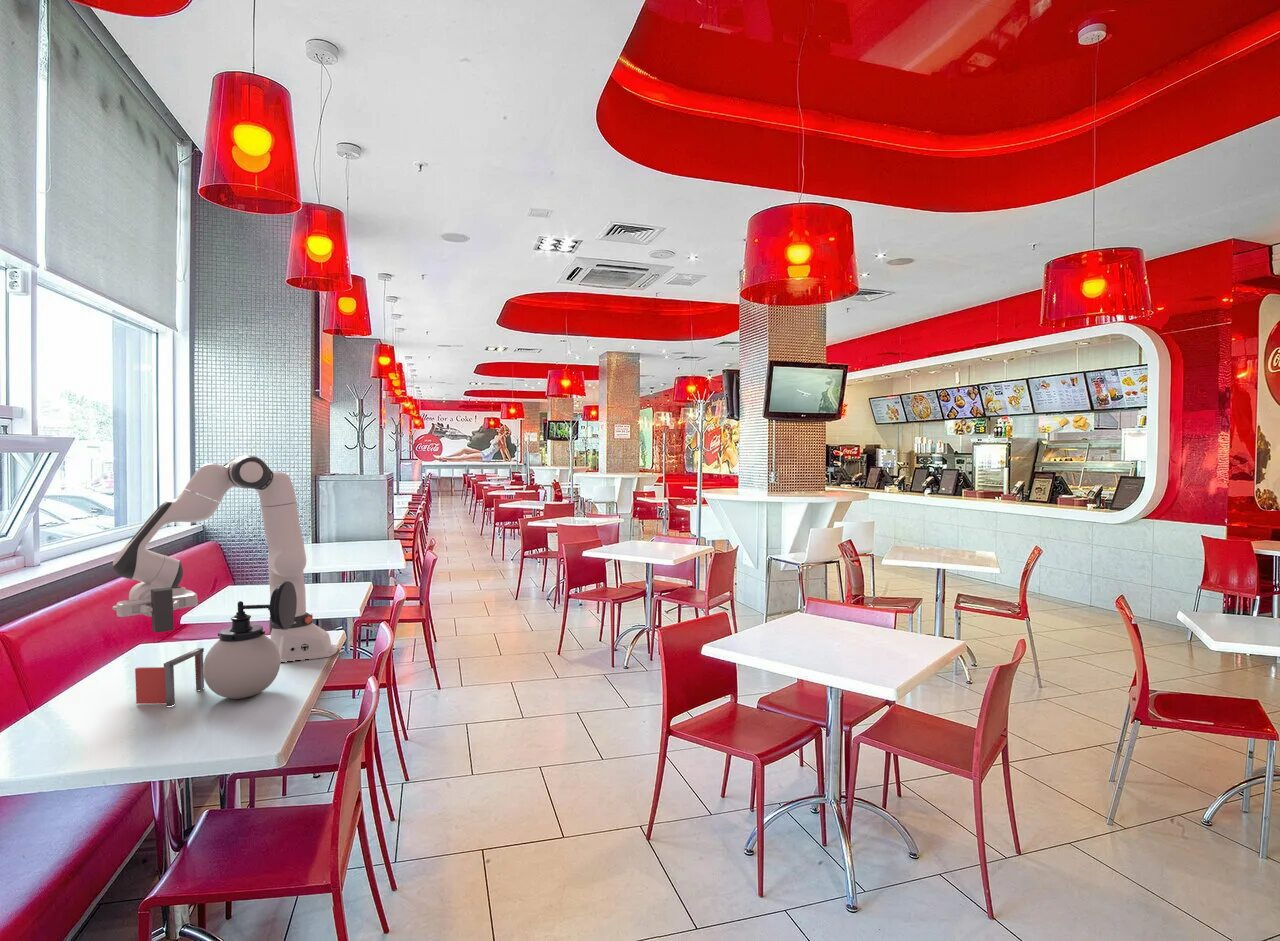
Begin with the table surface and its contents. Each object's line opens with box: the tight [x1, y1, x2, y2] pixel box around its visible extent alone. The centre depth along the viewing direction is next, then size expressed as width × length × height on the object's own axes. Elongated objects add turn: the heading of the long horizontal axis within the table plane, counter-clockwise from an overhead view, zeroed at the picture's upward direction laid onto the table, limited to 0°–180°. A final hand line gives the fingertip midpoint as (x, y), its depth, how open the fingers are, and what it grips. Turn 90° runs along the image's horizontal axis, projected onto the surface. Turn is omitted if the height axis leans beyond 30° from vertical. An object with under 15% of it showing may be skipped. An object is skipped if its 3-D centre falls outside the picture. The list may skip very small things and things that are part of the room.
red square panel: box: [134, 666, 166, 705], centre depth 204 cm, size 10×1×10 cm, turn 89°
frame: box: [163, 647, 205, 707], centre depth 209 cm, size 16×2×12 cm, turn 179°
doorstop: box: [151, 587, 175, 634], centre depth 212 cm, size 4×4×12 cm
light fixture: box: [203, 581, 297, 700], centre depth 210 cm, size 20×23×33 cm
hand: (162, 608), depth 211 cm, fingers closed on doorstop, 4 cm apart
